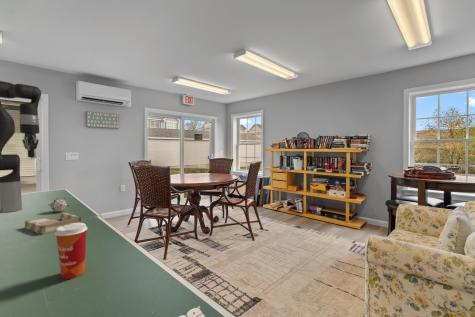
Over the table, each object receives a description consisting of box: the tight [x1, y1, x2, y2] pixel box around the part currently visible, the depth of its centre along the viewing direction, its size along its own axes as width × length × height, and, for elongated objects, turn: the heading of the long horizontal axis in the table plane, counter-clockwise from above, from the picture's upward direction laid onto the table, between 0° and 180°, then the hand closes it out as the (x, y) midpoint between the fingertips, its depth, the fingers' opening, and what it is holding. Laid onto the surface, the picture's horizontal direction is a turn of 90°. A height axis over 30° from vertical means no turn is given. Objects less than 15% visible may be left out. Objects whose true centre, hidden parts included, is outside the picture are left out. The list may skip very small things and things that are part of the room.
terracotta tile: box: [39, 219, 61, 225], centre depth 108 cm, size 6×6×3 cm
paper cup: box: [54, 222, 88, 280], centre depth 68 cm, size 8×8×14 cm
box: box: [24, 211, 82, 235], centre depth 110 cm, size 17×15×4 cm
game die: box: [48, 197, 70, 214], centre depth 134 cm, size 9×8×10 cm
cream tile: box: [32, 218, 50, 223], centre depth 110 cm, size 6×6×3 cm
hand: (31, 157), depth 123 cm, fingers closed
